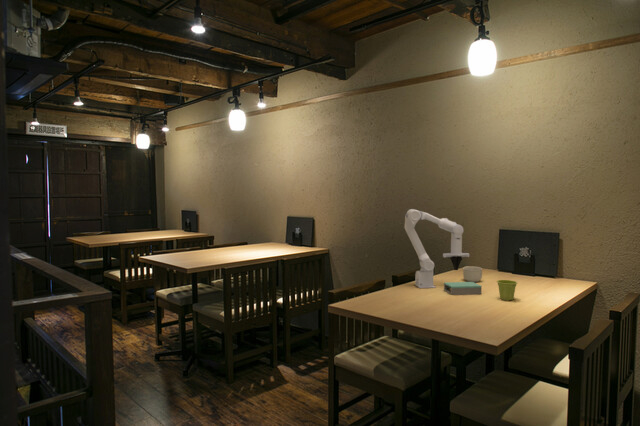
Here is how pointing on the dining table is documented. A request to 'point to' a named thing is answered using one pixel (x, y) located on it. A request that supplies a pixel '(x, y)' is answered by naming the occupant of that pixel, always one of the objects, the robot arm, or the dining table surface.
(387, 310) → the dining table surface
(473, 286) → the lid
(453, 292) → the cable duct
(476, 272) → the teacup
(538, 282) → the dining table surface
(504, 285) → the plant pot
